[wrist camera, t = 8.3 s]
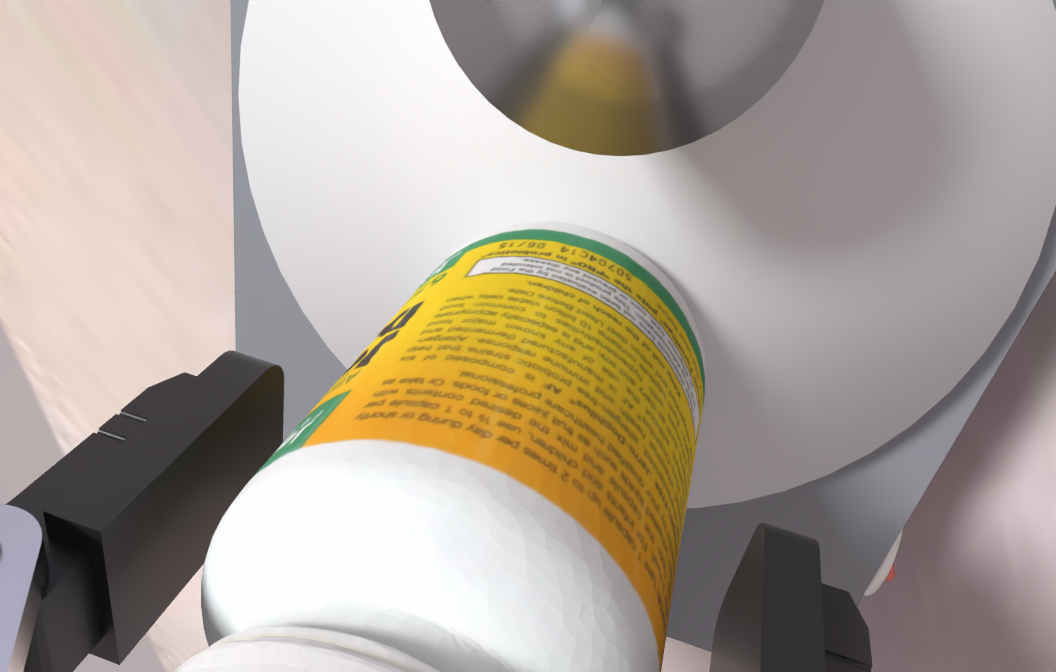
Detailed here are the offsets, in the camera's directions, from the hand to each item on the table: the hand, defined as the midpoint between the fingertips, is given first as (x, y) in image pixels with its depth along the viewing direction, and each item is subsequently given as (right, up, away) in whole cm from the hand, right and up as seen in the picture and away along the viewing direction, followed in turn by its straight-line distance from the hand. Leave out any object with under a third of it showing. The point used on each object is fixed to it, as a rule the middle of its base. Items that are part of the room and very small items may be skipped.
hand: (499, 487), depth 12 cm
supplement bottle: (+1, +2, +4) cm, 4 cm away
